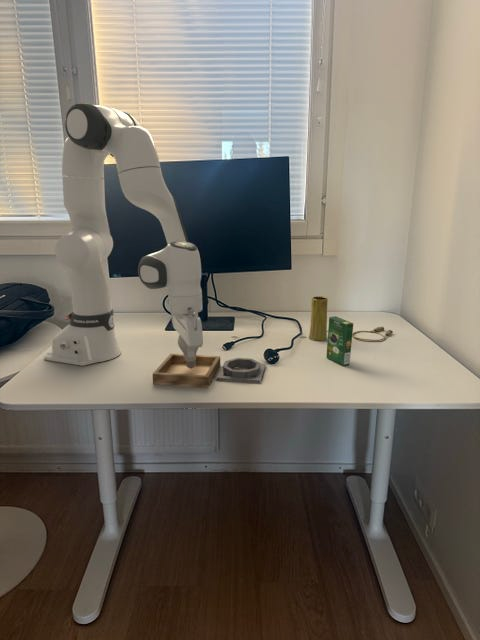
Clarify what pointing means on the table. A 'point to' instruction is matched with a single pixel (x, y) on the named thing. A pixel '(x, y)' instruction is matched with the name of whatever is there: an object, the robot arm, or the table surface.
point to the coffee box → (339, 340)
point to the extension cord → (374, 332)
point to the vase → (318, 319)
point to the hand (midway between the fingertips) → (187, 352)
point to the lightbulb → (183, 346)
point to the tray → (187, 371)
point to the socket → (241, 371)
